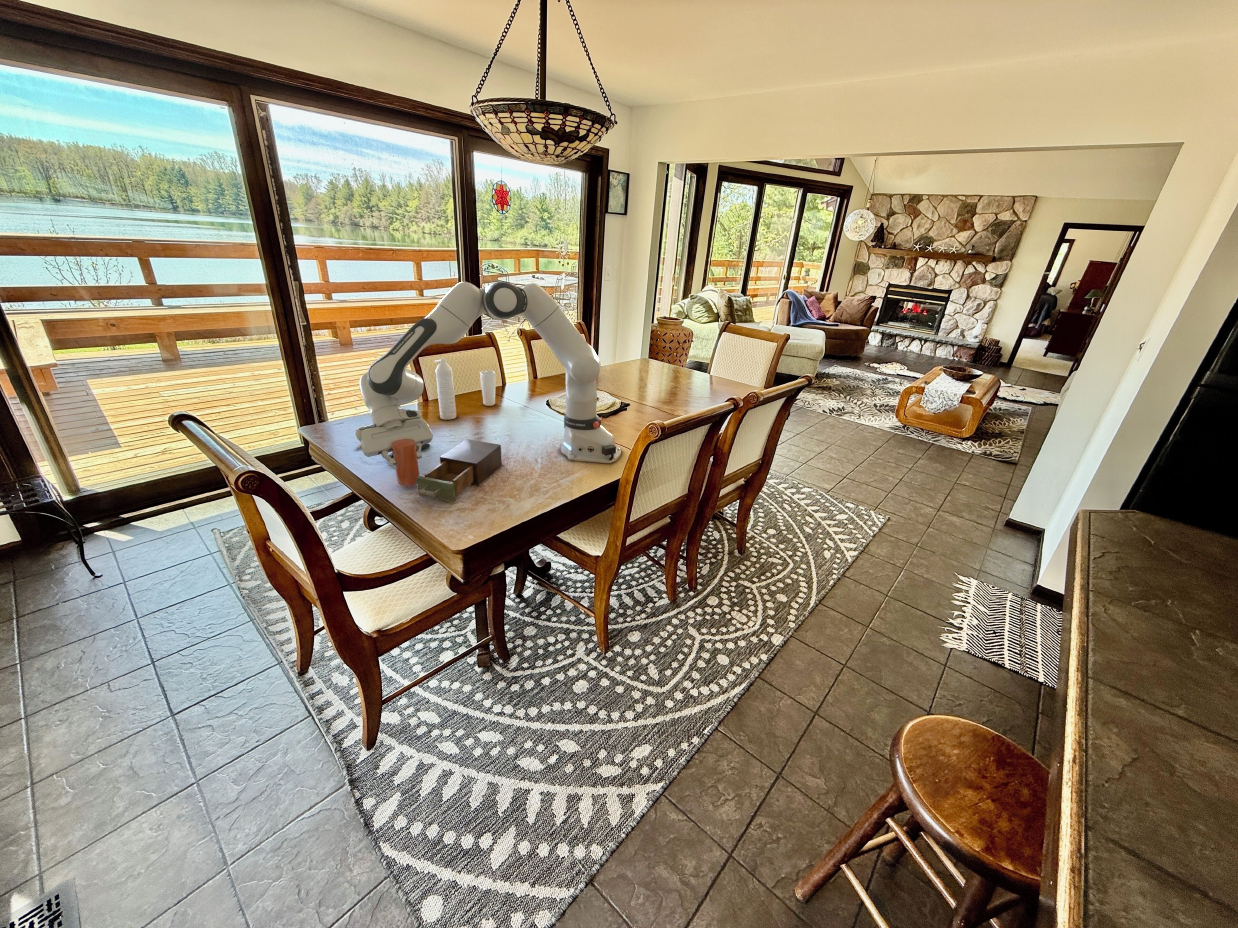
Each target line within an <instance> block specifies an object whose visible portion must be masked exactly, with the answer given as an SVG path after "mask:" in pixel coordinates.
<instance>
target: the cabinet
mask: <svg viewBox="0 0 1238 928" xmlns="http://www.w3.org/2000/svg"><path fill="white" fill-rule="evenodd" d="M445 460H446V461H452V462H457V463H463V464H468V465H474V468H475V481H474V482H473V483H471V484H470V485H471V486H477V487H479V486H480V485H482V483H483V482H485V481H486V480H487V479H488V478H489V477H490V476H492V475H493V474H494V473H495V472H496V471H497V470H498V469H500V468H501V467H502V466H503V463H502V462H503V461H502V460H503V459H502V444H499V443H493V442H487V441H481V440H475V439H469V438H466V439H464V440H463V441H461V442H459V443H458V444H457V445H455V446H453V447H452V448H451V449H449V450H447V451H446V452H444V453H443V454H442V455H440V456H439V464H441V463H442V462H443V461H445Z"/></svg>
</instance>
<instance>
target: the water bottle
mask: <svg viewBox="0 0 1238 928" xmlns="http://www.w3.org/2000/svg"><path fill="white" fill-rule="evenodd" d="M434 364H436V365H437V366H436V368H435V369H434V370H435V379H436V380H435V381H436V390H437V399H438V410H439V417H440V419H442V420H445V421H448V420H449V421H450V420H454V419H456V418H457V407H456V405H457V404H456V395H455V388H454V386H455V384H454V375H453V374H454V373H453V369H452V367H451V365H450V364H449V363H448V361H447V359H446V357H440V358H439V359H435V360H434Z"/></svg>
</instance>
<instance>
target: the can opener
mask: <svg viewBox="0 0 1238 928" xmlns="http://www.w3.org/2000/svg"><path fill="white" fill-rule="evenodd" d="M430 446H431V444H430V443H426V444H422V447H421V451H424V450H426V449H428V448H429V447H430ZM417 451H418V449H416V452H417ZM387 455H388V456H390V457H391V458H394V456H393V451H392V452H390V453H388V454H387Z"/></svg>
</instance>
